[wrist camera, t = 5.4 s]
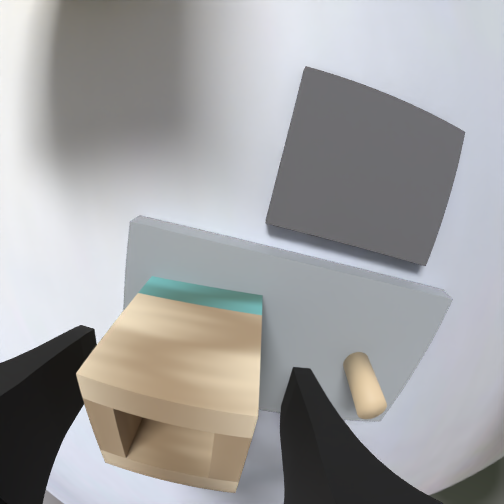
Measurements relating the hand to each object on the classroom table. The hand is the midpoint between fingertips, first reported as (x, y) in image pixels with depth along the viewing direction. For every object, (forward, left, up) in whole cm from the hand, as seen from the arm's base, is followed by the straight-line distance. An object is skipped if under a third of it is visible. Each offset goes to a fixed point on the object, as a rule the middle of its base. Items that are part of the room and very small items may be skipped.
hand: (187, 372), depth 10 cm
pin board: (-3, 0, -4) cm, 5 cm away
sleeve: (0, 0, -3) cm, 3 cm away
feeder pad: (-5, -8, -4) cm, 10 cm away
